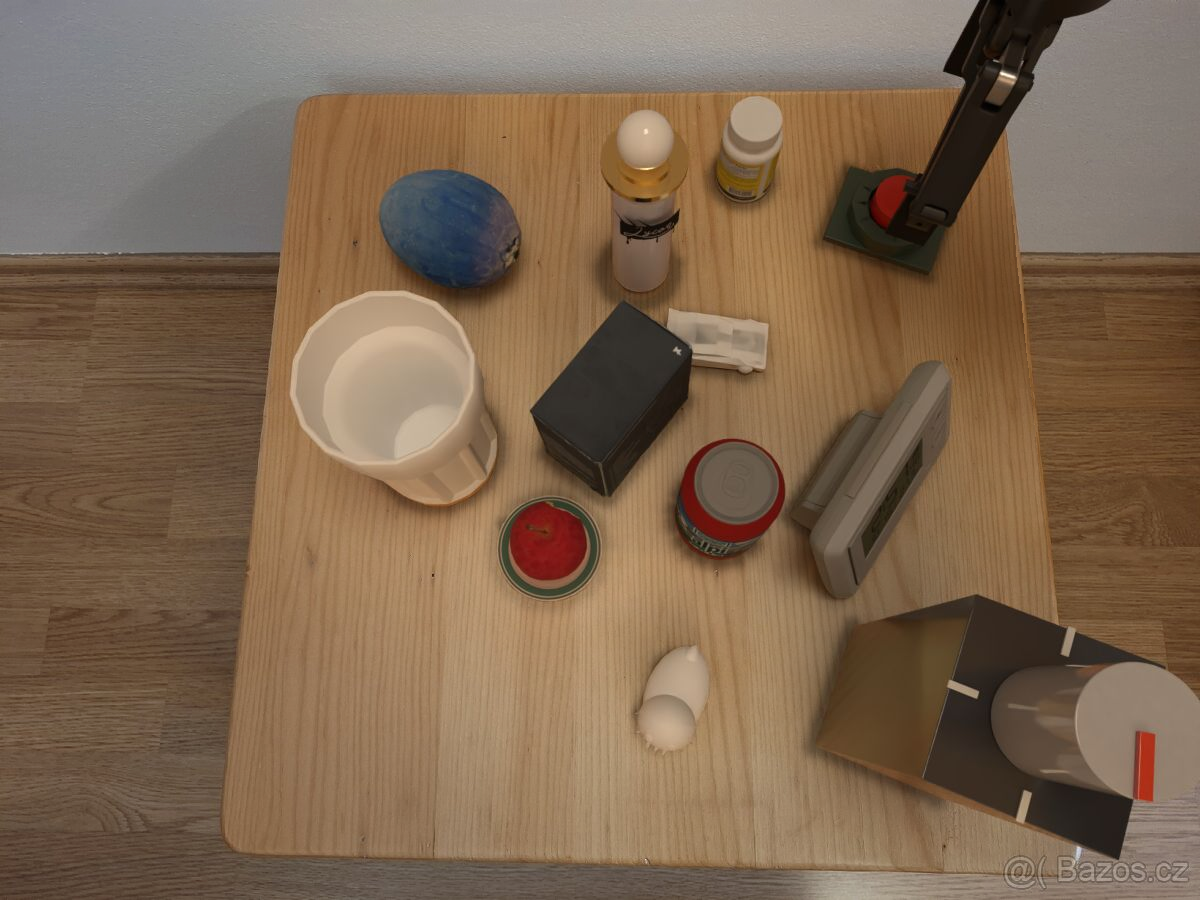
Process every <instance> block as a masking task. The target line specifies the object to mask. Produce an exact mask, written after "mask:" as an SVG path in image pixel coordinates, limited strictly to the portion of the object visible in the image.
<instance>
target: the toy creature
mask: <svg viewBox="0 0 1200 900" xmlns="http://www.w3.org/2000/svg"><path fill="white" fill-rule="evenodd" d="M709 667H710V666H709V663H708V661H707V659H706V657H705V656H704V654H703V653H702V652H701V651H700V650H699V648H698V645H697V644H695V645H693V646H687V645H682V646H680V647H676V648H673V649H672V650H670V651H669V652H668V653H666V654H665V655H664V656H663V657H662V658H661V659H660V660H659V662H658V663H657V664H656V665H655V667H654V668H653V670H652V672H651V674H650V676H649V677H648V680H647V682H646V686H645V688H644V692H643V695H642V705H641V707H640V709H639V711H636V712H633V713H632V715H637V725H638V729H637V730H636V731H635V732H634V733H633V734H634V735H635V734H641V736H642V737H643V739H644V740H645V748H644V752H646V751H647V750H648V749H649V747H650V746H652V747H653V753H652V754H653V756H654V755H655V754H656V752H657V751H658V750H661V755H660V759H662V758H663V757H664V755H665V754H666V753H667V752H673V751H678V750H680V751H681V752H683V748H685V747H686V746H687V745H689V744H691V745H694V743H693V741H692V740H693V738H694V737H695V734H696V729H697V724H698V722H699V720H700V718H701V716H702V714H703V713H704V710H705V709H706V705H707V701H708V698H709V695H710V689H711V673H710V668H709Z"/></svg>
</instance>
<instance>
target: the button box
mask: <svg viewBox="0 0 1200 900" xmlns="http://www.w3.org/2000/svg"><path fill="white" fill-rule="evenodd" d="M896 175H903V176H908V177H911V178H913V179H915V178H916V177H917V175H918V173H915V172H913V171H909V170H907V169H904V168H900V167H893V168H886V169H879V170H875V171H873V172H871V171H868V170H865V169H863V168H858V167H856V166H854V165H850V167H849V169H848V170H847V174H846V176H845V179H844V182H843V185H842V188H841V190H840V193H839V195H838V198H837V200H836V202H835V206H834V209H833V211H832V214H831V216H830V219H829V221H828V224H827V227H826V229H825V232H824V234H823V237H822V240H823V241H825V242H828V243H831V244H835V245H837V246H840V247H843V248H845V249H848V250H852V251H855V252H858V253H860V254H863V255H866V256H868V257H873V258H875V259H878V260H881V261H884V262H886V263H890V264H893V265H896V266H899V267H901V268H904V269H908V270H910V271H914V272H916V273H919V274H922V275H924V276H929V275H930V274H931V273H932V270H933V268H934V264H935V261H936V258H937V256H938V253H939V250H940V246H941V244H942V242H943V241H942V240H943V237H944V235H945V232H946V229H947V228H946V227H943V226H940V225H938V226H937V228H936V229H935V231H934V232H933V233H932V235H931V236H930V238H929V239H928V240H927V242H926V243H925V245H924V246H920V245H917V244H914V243H911V242H908V241H905V240H902V239H900V238H897V237H894V236H891V235H888V234H885V232H886V229H885V228H883V227H881V226H880V225H879V224H878V223H877V222H876V221H875V220H874V218H873V216H872V214H871V210H870V205H871V201H872V198H873V196H874V194H875V192H876V190H877V188H878V187H879V185H880V184H881V183H882V182H883V181H884V180H885V179H887V178H889V177H892V176H896Z"/></svg>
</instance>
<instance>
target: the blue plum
mask: <svg viewBox="0 0 1200 900" xmlns="http://www.w3.org/2000/svg"><path fill="white" fill-rule="evenodd" d="M378 222H379V225H380V229H381V233H382V236H383V238H384V240H385V242H386V244H387V245H388V247H389V249H390V250H391V251H392V252H393V254H394V255H395V256H396V258H397V259H399V260H400V261H401V262H402V263H403V264H404V265H405V266H406V267H407V268H409V269H410V270H411V271H412V272H414V273H415V274H416V275H419V276H420V277H422V278H424V279H425V280H428V281H429V282H432V283H434V284H435V285H439V286H441V287H444V288H449V289H453V290H475V289H479V290H482V289H483V288H485V287H487V286H489V285H492V284H493V283H495V282H496V281H499V280H501V279H503V278H504V277H506V276H507V275H508V274H509V273H510V271H511V270H512V269H513V266H515V263H516V262H517V260H518V258H519V257H520V252H521V245H522V237H523V236H522V235H523V234H522V229H521V227H520V224H519V221H518V219H517V216H516V213H515V210H514V208H513V206H512V205H511V204H510V202H509V201H508V199H507V197H506V196H504V194H503V193H502V192H501V191H500V190H498V189H497V188H496V187H494V186H493V185H492V184H490V183H488V182H486V181H485V180H483V179H481V178H480V177H478V176H475V175H473V174H469V173H466V172H462V171H459V170H453V169H441V168H436V169H428V170H427V169H425V170H420V171H419V170H418V171H415V172H411V173H409V174H406V175H404V176H402V177H399V178H398V179H397V180H395V181H394V182H393V183H392V184H391V185H390V186H389V187H388V188H387V189H386V191H385V192H384V194H383V196H382V198H381V200H380V203H379V210H378ZM551 277H553V274H551Z"/></svg>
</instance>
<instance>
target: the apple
mask: <svg viewBox="0 0 1200 900" xmlns="http://www.w3.org/2000/svg"><path fill="white" fill-rule="evenodd" d="M601 533H602V532H601V530H600V528H599V525H598V523H597V521H596V520H595V518H594V517H593V515H592V513H590V512H589V511H588V510H587V509H586V508H585V507H584V506H583V505H582V504H580V503H579V502H577V501H575V500H573V499H570V498H568V497H564V496H559V495H541V496H537V497H533V498H530V499H528V500H526V501H524V502H523V503H521V504H519V505H518V506H516V507H515V508H514V509H513V510H512V511H511V512H510V513H509V515H507V517H506V518H505V520H504V521H503V523H502V525H501V527H500V530H499V532H498V535H497V539H496V540H497V541H496V560H497V563H498V566H499V567H498V568H499V569H500V570H501V573H502V575H503V578H504V579H505V581H507V582H508V584H509V585H510V586H511V587H512V588H513V589H514V590H516V591H517V592H519V593H520V594H521V595H523V596H525V597H527V598H530V599H533V600H536V601H540V602H541V601H542V602H555V601H561V600H564V599H568V598H570V597H573V596H575V595H576V594H578V593H579V592H581V591H582V590H583V589H585V587H587V586H588V584H589V583H591V581H592V580H593V578H594V577H595V575H596V573H597V572H598V569H599V567H600V564H601V562H602V556H603V539H602V534H601Z"/></svg>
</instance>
